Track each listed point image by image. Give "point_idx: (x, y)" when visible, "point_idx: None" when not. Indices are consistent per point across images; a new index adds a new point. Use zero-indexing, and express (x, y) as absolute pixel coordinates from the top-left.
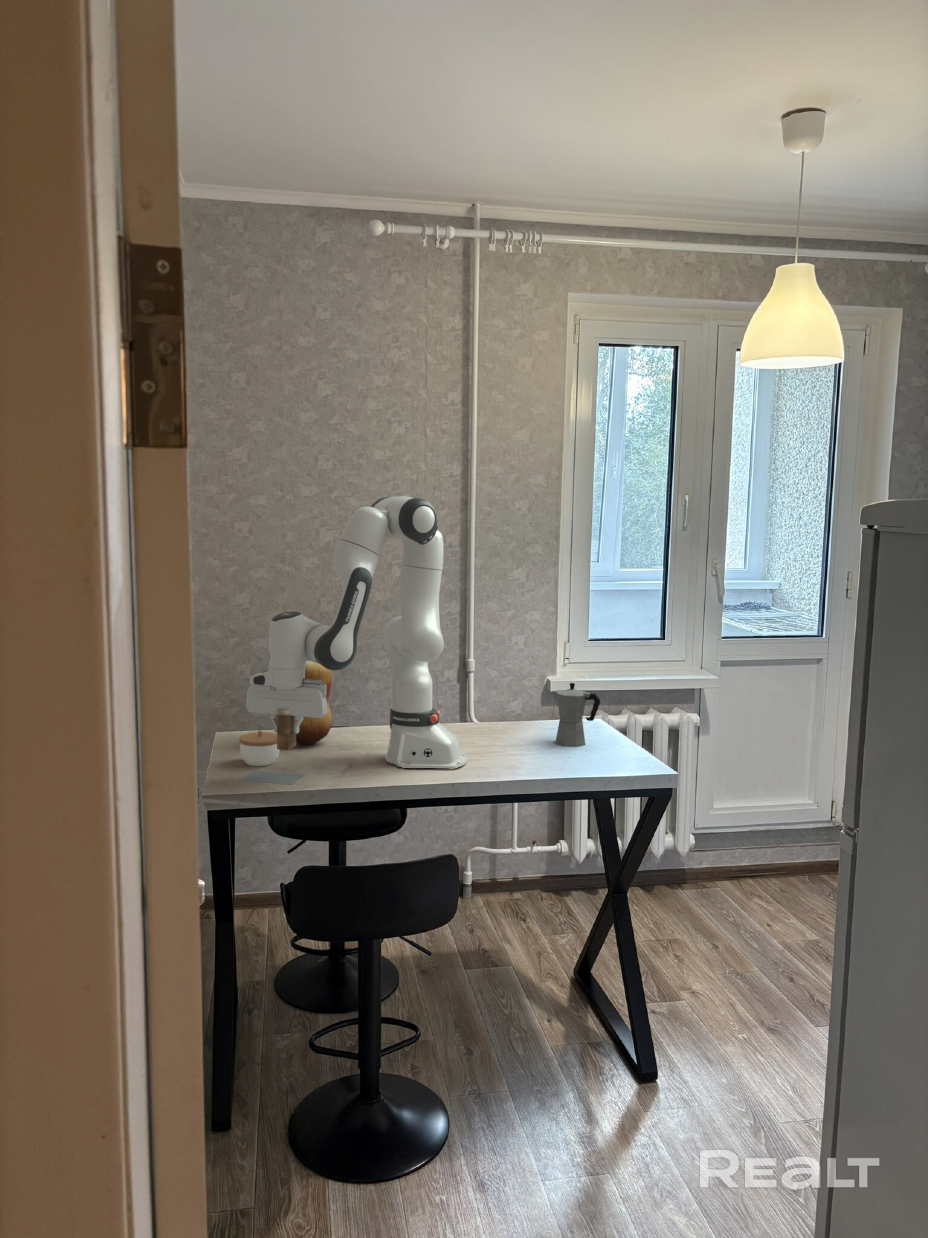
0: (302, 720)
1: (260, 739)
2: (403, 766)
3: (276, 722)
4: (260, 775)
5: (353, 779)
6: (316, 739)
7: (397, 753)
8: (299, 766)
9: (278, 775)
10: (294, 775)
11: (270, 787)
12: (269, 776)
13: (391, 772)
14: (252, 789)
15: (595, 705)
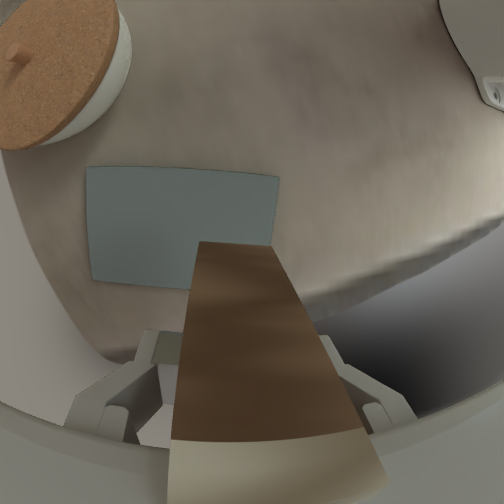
0: (387, 392)
1: (34, 100)
2: (490, 103)
3: (147, 406)
4: (126, 221)
5: (414, 184)
6: None
7: (497, 74)
8: (220, 53)
9: (185, 208)
10: (243, 199)
11: None
12: (159, 226)
13: (473, 124)
14: (153, 315)
15: None
